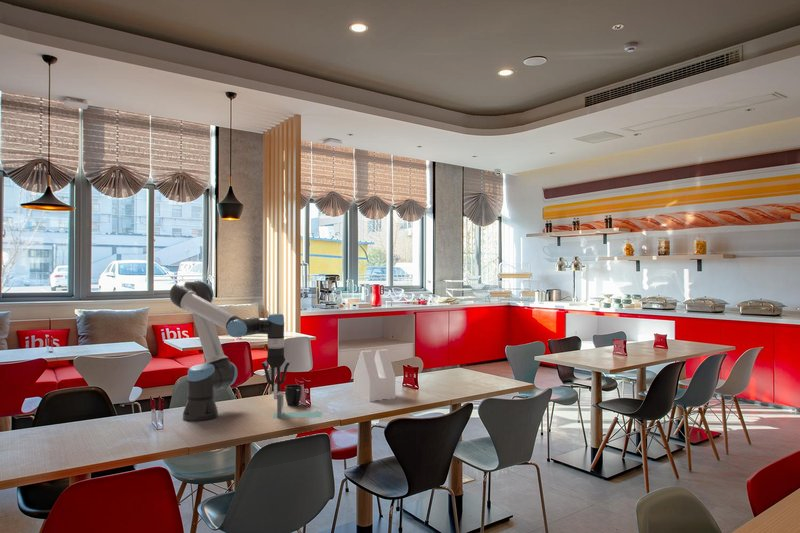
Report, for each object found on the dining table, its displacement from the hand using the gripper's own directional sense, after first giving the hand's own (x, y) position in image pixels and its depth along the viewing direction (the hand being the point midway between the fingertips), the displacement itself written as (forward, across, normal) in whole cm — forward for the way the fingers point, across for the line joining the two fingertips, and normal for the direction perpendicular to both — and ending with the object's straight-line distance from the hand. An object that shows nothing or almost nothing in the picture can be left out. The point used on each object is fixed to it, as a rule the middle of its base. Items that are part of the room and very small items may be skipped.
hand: (275, 398), depth 253 cm
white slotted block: (+9, +48, +38) cm, 62 cm away
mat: (+8, +10, 0) cm, 13 cm away
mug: (+8, +7, +20) cm, 23 cm away
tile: (+8, +2, 0) cm, 8 cm away
